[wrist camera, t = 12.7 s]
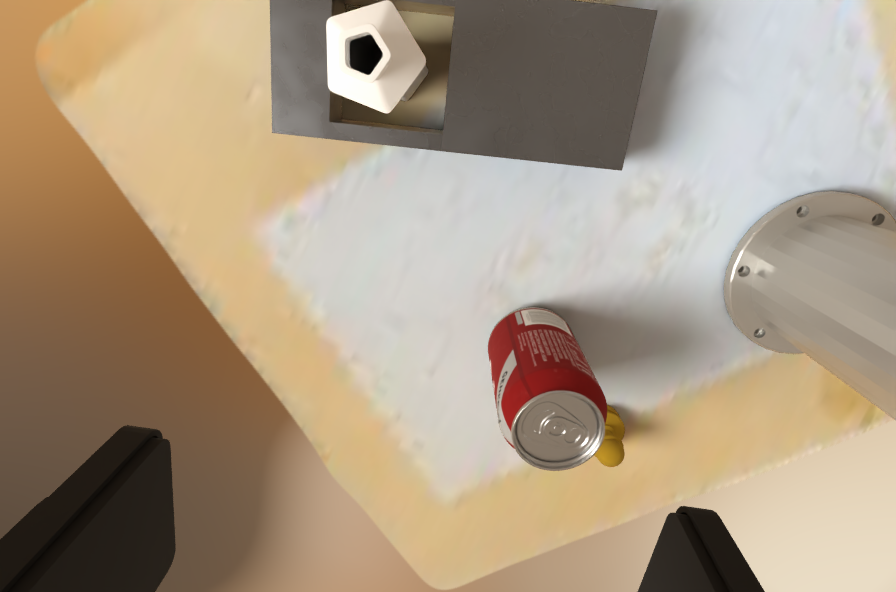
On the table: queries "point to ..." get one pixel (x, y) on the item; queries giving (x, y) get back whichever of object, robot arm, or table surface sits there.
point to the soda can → (545, 390)
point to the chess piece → (612, 440)
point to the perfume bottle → (373, 57)
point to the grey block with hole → (485, 79)
